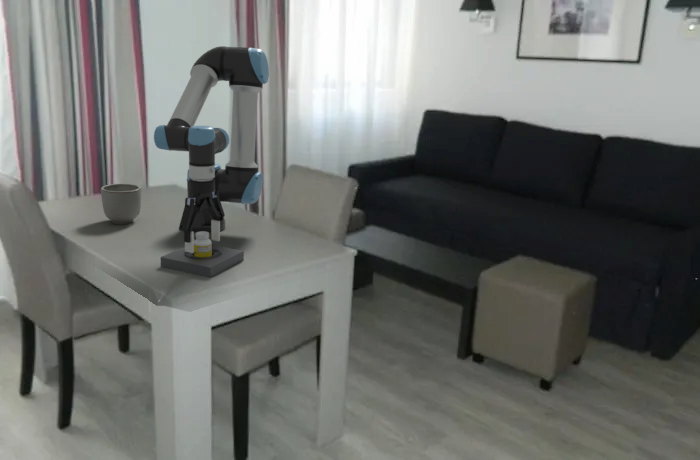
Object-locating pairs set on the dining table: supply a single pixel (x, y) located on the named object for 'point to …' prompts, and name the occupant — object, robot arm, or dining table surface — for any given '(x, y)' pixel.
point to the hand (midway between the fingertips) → (203, 246)
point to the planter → (121, 202)
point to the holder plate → (203, 261)
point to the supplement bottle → (202, 245)
